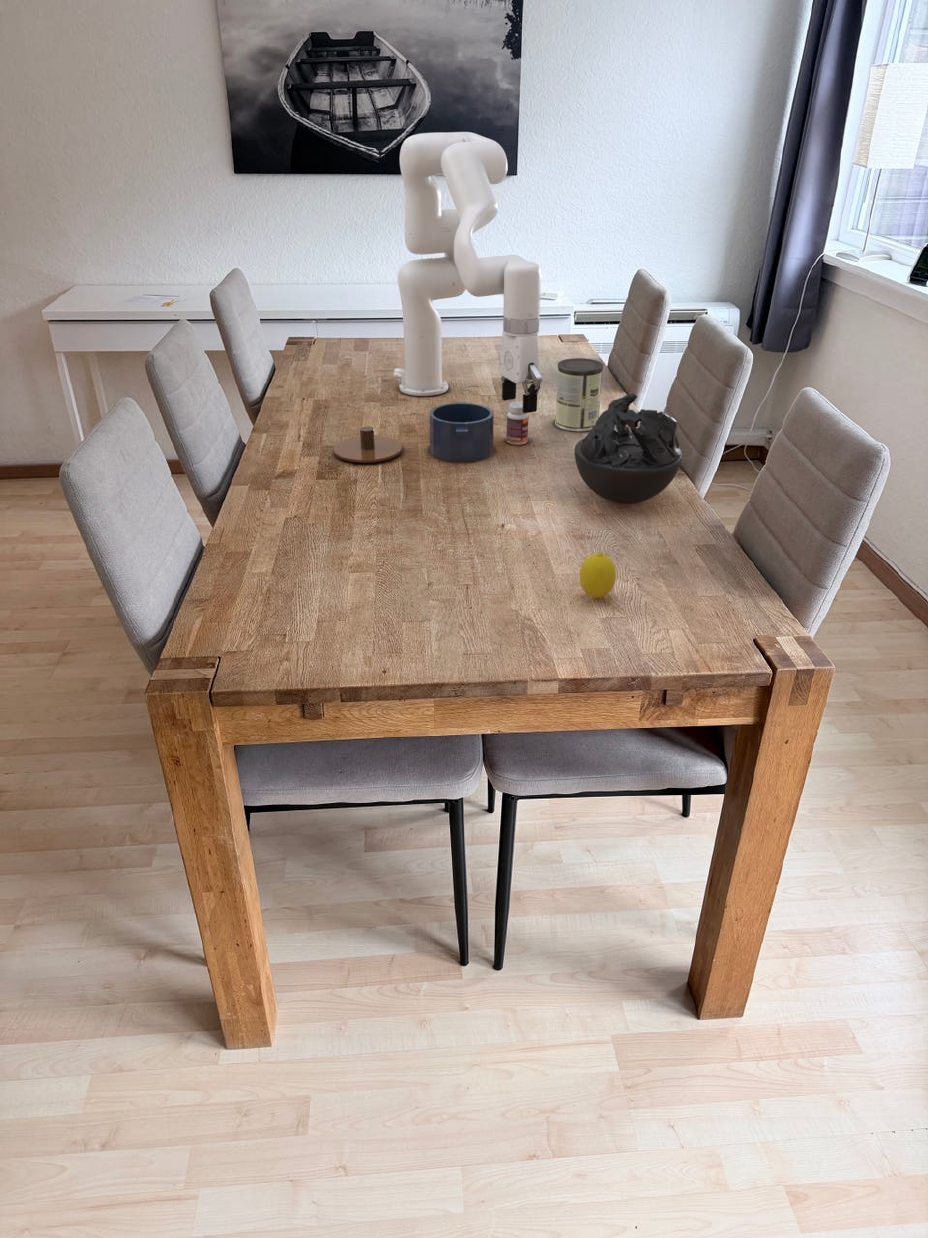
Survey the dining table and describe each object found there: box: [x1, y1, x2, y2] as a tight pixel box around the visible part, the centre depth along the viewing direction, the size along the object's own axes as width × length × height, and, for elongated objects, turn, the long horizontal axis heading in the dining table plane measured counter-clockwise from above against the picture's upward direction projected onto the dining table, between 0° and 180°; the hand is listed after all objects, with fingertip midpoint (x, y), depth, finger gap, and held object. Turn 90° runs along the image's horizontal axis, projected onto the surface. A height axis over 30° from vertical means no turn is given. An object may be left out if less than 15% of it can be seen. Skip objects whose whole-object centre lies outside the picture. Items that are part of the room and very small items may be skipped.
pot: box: [429, 401, 495, 463], centre depth 195 cm, size 14×19×8 cm
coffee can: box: [554, 357, 604, 432], centre depth 208 cm, size 10×10×14 cm
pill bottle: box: [505, 401, 530, 446], centre depth 199 cm, size 5×5×8 cm
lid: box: [333, 425, 403, 463], centre depth 194 cm, size 15×15×5 cm
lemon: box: [579, 552, 617, 599], centre depth 140 cm, size 6×6×8 cm
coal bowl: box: [574, 393, 683, 505], centre depth 170 cm, size 20×20×19 cm
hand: (519, 405), depth 197 cm, fingers open, 9 cm apart
